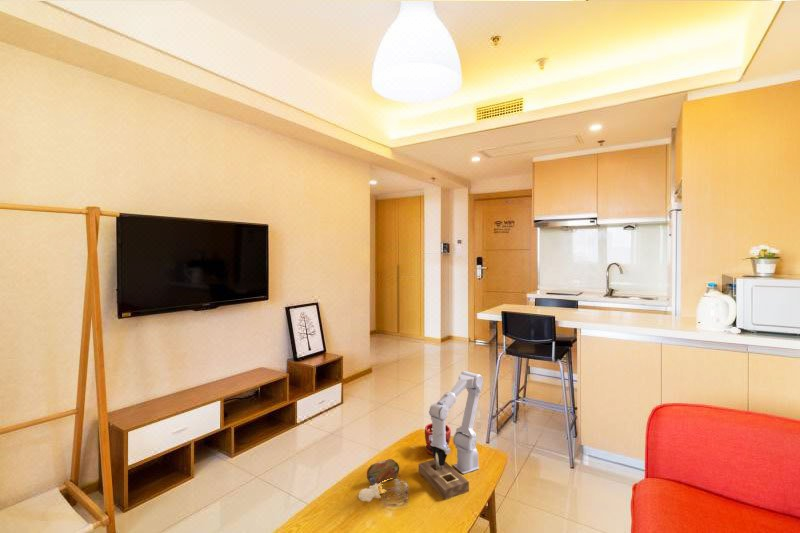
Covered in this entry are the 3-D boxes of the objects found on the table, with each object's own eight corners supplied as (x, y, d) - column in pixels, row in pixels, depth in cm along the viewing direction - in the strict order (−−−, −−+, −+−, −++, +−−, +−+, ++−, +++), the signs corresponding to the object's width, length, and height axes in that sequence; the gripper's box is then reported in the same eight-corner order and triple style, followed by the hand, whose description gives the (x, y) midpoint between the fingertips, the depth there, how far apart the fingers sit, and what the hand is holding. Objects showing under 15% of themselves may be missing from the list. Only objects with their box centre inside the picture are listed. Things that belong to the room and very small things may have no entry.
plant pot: (432, 460, 181) (431, 435, 181) (420, 447, 193) (420, 424, 193) (455, 454, 186) (455, 430, 186) (443, 442, 198) (442, 420, 198)
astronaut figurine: (389, 496, 155) (389, 489, 155) (362, 504, 150) (361, 497, 150) (381, 484, 163) (381, 478, 163) (355, 492, 158) (355, 485, 158)
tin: (368, 487, 160) (368, 468, 160) (365, 483, 163) (365, 464, 163) (399, 477, 167) (399, 459, 167) (396, 474, 170) (396, 456, 170)
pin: (440, 465, 164) (440, 450, 163) (444, 469, 161) (444, 453, 161) (434, 467, 162) (434, 451, 162) (438, 471, 159) (437, 455, 159)
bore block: (440, 465, 176) (440, 456, 176) (468, 491, 156) (468, 481, 156) (418, 472, 171) (418, 463, 171) (444, 499, 151) (444, 489, 151)
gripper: (422, 427, 166) (423, 457, 166) (439, 441, 153) (440, 473, 153) (436, 424, 169) (436, 453, 169) (454, 437, 156) (454, 469, 156)
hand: (439, 463), depth 161 cm, fingers closed on pin, 3 cm apart
